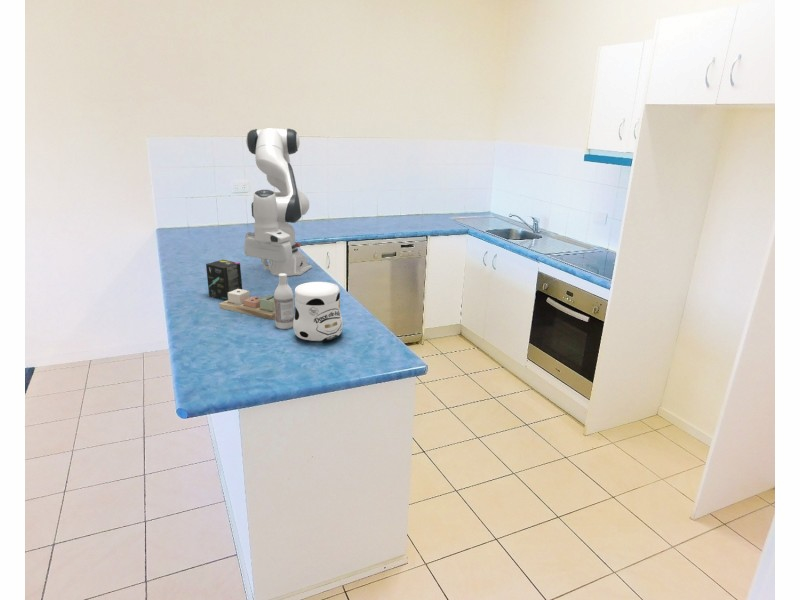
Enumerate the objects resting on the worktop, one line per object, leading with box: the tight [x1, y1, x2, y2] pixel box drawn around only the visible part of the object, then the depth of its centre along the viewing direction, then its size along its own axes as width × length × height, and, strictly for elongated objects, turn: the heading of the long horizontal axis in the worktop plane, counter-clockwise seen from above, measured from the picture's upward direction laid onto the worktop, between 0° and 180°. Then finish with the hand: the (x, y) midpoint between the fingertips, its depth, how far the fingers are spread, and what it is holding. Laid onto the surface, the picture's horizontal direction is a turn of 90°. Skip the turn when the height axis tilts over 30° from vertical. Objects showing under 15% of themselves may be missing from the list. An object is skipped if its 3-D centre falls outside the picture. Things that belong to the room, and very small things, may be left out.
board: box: [218, 296, 275, 321], centre depth 213 cm, size 12×26×2 cm, turn 65°
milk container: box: [292, 281, 344, 343], centre depth 187 cm, size 17×17×18 cm
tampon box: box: [205, 259, 243, 302], centre depth 225 cm, size 11×9×15 cm
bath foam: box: [273, 273, 295, 330], centre depth 195 cm, size 7×7×20 cm
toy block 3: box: [259, 294, 275, 312], centre depth 209 cm, size 6×6×4 cm
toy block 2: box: [243, 295, 262, 309], centre depth 213 cm, size 6×6×4 cm
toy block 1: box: [228, 288, 251, 305], centre depth 215 cm, size 6×6×4 cm
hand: (268, 270), depth 205 cm, fingers closed
